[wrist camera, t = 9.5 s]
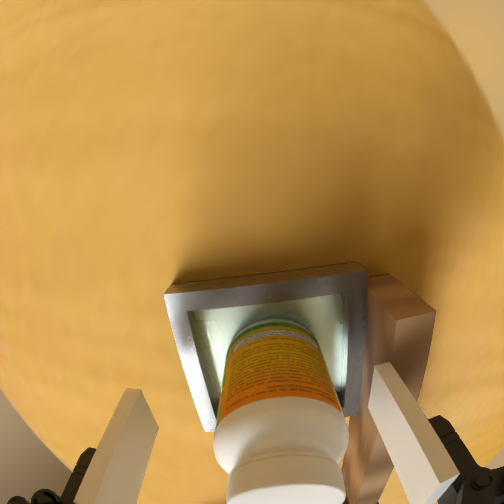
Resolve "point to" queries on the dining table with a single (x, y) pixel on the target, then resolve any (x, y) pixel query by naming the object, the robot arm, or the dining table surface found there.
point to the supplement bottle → (279, 419)
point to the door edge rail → (376, 352)
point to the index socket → (271, 307)
